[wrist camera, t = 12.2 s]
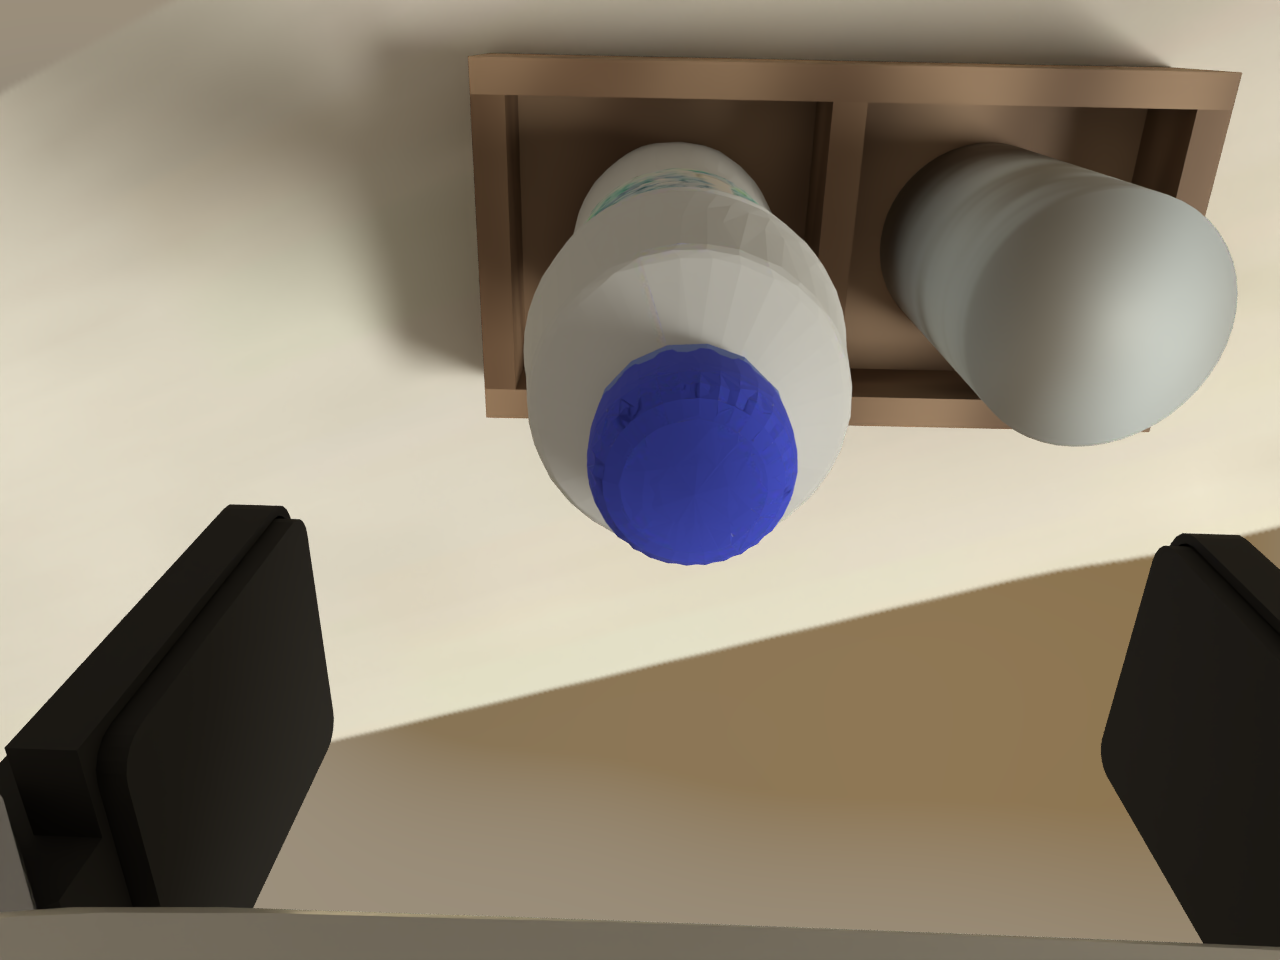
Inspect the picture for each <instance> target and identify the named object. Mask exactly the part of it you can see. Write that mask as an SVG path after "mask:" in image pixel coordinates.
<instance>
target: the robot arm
mask: <svg viewBox="0 0 1280 960" xmlns="http://www.w3.org/2000/svg"><path fill="white" fill-rule="evenodd" d="M333 722H334V717H333V707H332V700H331V694H330V687H329V680H328V673H327V666H326V659H325V653H324V646H323V639H322V632H321V625H320V618H319V611H318V605H317V598H316V591H315V584H314V577H313V570H312V564H311V557H310V550H309V543H308V536H307V531H306V527H305V525H304V523H303V521H301V520H300V519H291V518H290V515H289V513H288V511H287V509H285V508H284V507H283V506H265V505H228V506H227V507H226V508H224V509H223V510H222V511H221V513H220V514H219V515H218V516H217V517H216V518H215V519H214V520H213V521H212V522H211V523H210V525H209V526H208V527H207V528H206V529H205V530H204V531H203V532H202V533H201V534H200V535H199V537H198V538H197V539H196V540H195V541H194V542H193V543H192V544H191V545H190V546H189V547H188V549H187V550H186V551H185V552H184V553H183V554H182V555H181V556H180V557H179V558H178V559H177V561H176V562H175V563H174V564H173V565H172V566H171V567H170V568H169V569H168V570H167V571H166V573H165V574H164V575H163V576H162V577H161V578H160V579H159V580H158V581H157V582H156V583H155V584H154V586H153V587H152V588H151V589H150V590H149V591H148V592H147V593H146V594H145V595H144V596H143V598H142V599H141V600H140V601H139V602H138V603H137V604H136V605H135V606H134V607H133V608H132V610H131V611H130V612H129V613H128V614H127V615H126V616H125V617H124V618H123V619H122V620H121V622H120V623H119V624H118V625H117V626H116V627H115V628H114V629H113V630H112V631H111V632H110V634H109V635H108V636H107V637H106V638H105V639H104V640H103V641H102V642H101V643H100V644H99V646H98V647H97V648H96V649H95V650H94V651H93V652H92V653H91V654H90V655H89V656H88V657H87V659H86V660H85V661H84V662H83V663H82V664H81V665H80V666H79V667H78V668H77V669H76V671H75V672H74V673H73V674H72V675H71V676H70V677H69V678H68V679H67V680H66V681H65V683H64V684H63V685H62V686H61V687H60V688H59V689H58V690H57V691H56V692H55V693H54V695H53V696H52V697H51V698H50V699H49V700H48V701H47V702H46V703H45V704H44V705H43V707H42V708H41V709H40V710H39V711H38V712H37V713H36V714H35V715H34V716H33V717H32V719H31V720H30V721H29V722H28V723H27V724H26V725H25V726H24V727H23V728H22V729H21V731H20V732H19V733H18V734H17V735H16V736H15V737H14V738H13V739H12V740H11V741H10V742H9V744H8V745H7V746H6V747H5V751H6V754H7V756H6V757H5V758H4V759H3V760H2V761H1V762H0V960H1280V569H1278V568H1277V567H1276V566H1275V565H1274V564H1273V563H1272V562H1270V560H1269V559H1267V558H1266V557H1265V556H1264V555H1263V554H1262V553H1261V552H1260V551H1258V550H1257V549H1256V548H1255V547H1254V546H1253V545H1252V544H1251V543H1250V542H1249V541H1247V540H1246V539H1245V538H1243V537H1241V536H1240V535H1219V534H1186V533H1182V534H1181V535H1179V536H1177V537H1176V538H1175V539H1174V540H1173V542H1172V543H1171V545H1170V546H1163V547H1161V548H1159V550H1158V551H1157V552H1156V554H1155V556H1154V558H1153V561H1152V565H1151V568H1150V572H1149V575H1148V579H1147V583H1146V586H1145V589H1144V593H1143V597H1142V600H1141V604H1140V607H1139V611H1138V614H1137V618H1136V621H1135V625H1134V628H1133V632H1132V635H1131V639H1130V642H1129V646H1128V650H1127V653H1126V657H1125V661H1124V664H1123V668H1122V672H1121V674H1120V678H1119V681H1118V685H1117V688H1116V692H1115V695H1114V699H1113V703H1112V706H1111V710H1110V714H1109V717H1108V720H1107V724H1106V727H1105V731H1104V735H1103V738H1102V743H1101V757H1102V763H1103V767H1104V770H1105V773H1106V775H1107V777H1108V779H1109V781H1110V782H1111V784H1112V785H1113V787H1114V789H1115V791H1116V793H1117V794H1118V796H1119V798H1120V800H1121V801H1122V803H1123V805H1124V807H1125V808H1126V810H1127V812H1128V813H1129V815H1130V817H1131V819H1132V820H1133V822H1134V824H1135V826H1136V827H1137V829H1138V831H1139V832H1140V834H1141V836H1142V838H1143V839H1144V841H1145V843H1146V845H1147V846H1148V848H1149V850H1150V852H1151V853H1152V855H1153V857H1154V859H1155V860H1156V862H1157V864H1158V866H1159V867H1160V869H1161V871H1162V873H1163V874H1164V876H1165V878H1166V879H1167V881H1168V883H1169V885H1170V886H1171V888H1172V890H1173V891H1174V893H1175V895H1176V897H1177V899H1178V900H1179V902H1180V904H1181V905H1182V907H1183V909H1184V911H1185V912H1186V914H1187V916H1188V918H1189V919H1190V921H1191V923H1192V924H1193V926H1194V928H1195V930H1196V932H1197V933H1198V935H1199V937H1200V938H1201V940H1202V942H1203V944H1199V943H1177V942H1155V941H1153V942H1152V941H1132V940H1109V939H1083V938H1082V939H1081V938H1057V937H1032V936H1006V935H980V934H954V933H930V932H904V931H878V930H852V929H826V928H800V927H775V926H747V925H720V924H719V925H718V924H694V923H667V922H666V923H665V922H640V921H614V920H587V919H560V918H558V919H557V918H532V917H504V916H503V917H502V916H474V915H443V914H411V913H382V912H351V911H321V910H291V909H259V908H253V907H254V905H255V903H256V900H257V898H258V896H259V894H260V892H261V890H262V888H263V885H264V884H265V881H266V879H267V877H268V875H269V873H270V871H271V869H272V866H273V864H274V862H275V860H276V858H277V856H278V854H279V851H280V850H281V847H282V845H283V843H284V841H285V839H286V837H287V835H288V833H289V831H290V828H291V826H292V824H293V822H294V820H295V818H296V816H297V813H298V811H299V809H300V807H301V805H302V803H303V801H304V799H305V796H306V794H307V792H308V790H309V788H310V786H311V784H312V782H313V780H314V777H315V775H316V773H317V771H318V769H319V767H320V765H321V763H322V761H323V759H324V756H325V754H326V752H327V750H328V748H329V745H330V742H331V738H332V733H333Z"/></svg>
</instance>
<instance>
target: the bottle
mask: <svg viewBox="0 0 1280 960" xmlns="http://www.w3.org/2000/svg"><path fill="white" fill-rule="evenodd" d="M846 346H847V344H846V328H845V322H844V316H843V311H842V307H841V304H840V301H839V298H838V294H837V291H836V289H835V287H834V285H833V283H832V281H831V279H830V277H829V275H828V273H827V271H826V270H825V268H824V266H823V265H822V263H821V262H820V260H819V259H818V257H817V256H816V255H815V253H814V252H813V251H812V250H811V248H810V247H809V246H808V245H807V243H806V242H805V241H804V240H802V239H801V238H800V237H799V236H798V235H797V234H796V233H795V232H794V231H793V230H792V229H790V228H789V227H788V226H787V225H786V224H785V223H783V222H782V221H781V220H780V219H778V218H777V217H776V216H775V215H773V214H772V213H771V210H770V208H769V206H768V204H767V202H766V200H765V198H764V196H763V194H762V192H761V190H760V189H759V187H758V186H757V184H756V183H755V181H754V180H753V179H752V178H751V177H750V176H749V175H748V174H747V173H746V171H745V170H744V169H743V168H742V167H741V166H740V165H738V164H737V163H736V162H734V161H733V160H731V159H730V158H729V157H727V156H726V155H724V154H723V153H722V152H720V151H718V150H715V149H713V148H710V147H707V146H704V145H698V144H692V143H686V142H667V143H654V144H649V145H645V146H641V147H639V148H637V149H635V150H633V151H631V152H629V153H627V154H626V155H625V156H623V157H622V158H620V159H619V160H618V161H616V162H615V163H614V164H613V165H612V166H610V167H609V168H608V169H607V170H606V171H605V172H604V173H603V174H602V175H601V176H600V177H599V178H598V179H597V180H596V181H595V183H594V184H593V186H592V187H591V189H590V191H589V192H588V194H587V196H586V197H585V199H584V201H583V204H582V206H581V209H580V211H579V214H578V217H577V221H576V226H575V230H574V234H573V235H572V236H571V238H570V239H569V240H568V241H567V242H566V244H565V245H564V246H563V248H562V249H561V250H560V252H559V253H558V254H557V256H556V257H555V259H554V260H553V261H552V263H551V264H550V266H549V267H548V269H547V270H546V272H545V273H544V275H543V277H542V278H541V281H540V283H539V285H538V287H537V289H536V291H535V294H534V296H533V299H532V302H531V305H530V308H529V311H528V316H527V322H526V327H525V333H524V367H525V373H526V387H527V407H528V418H529V425H530V429H531V433H532V437H533V441H534V445H535V447H536V449H537V452H538V454H539V456H540V458H541V461H542V463H543V464H544V466H545V468H546V470H547V472H548V474H549V476H550V478H551V480H552V481H553V482H554V483H555V485H556V486H557V487H558V488H559V490H560V491H561V492H562V493H563V494H564V496H565V497H566V498H567V499H568V500H569V501H570V502H571V503H572V504H573V505H574V506H575V507H576V508H578V509H579V510H580V511H581V512H582V513H584V514H585V515H586V516H587V517H589V518H590V519H591V520H592V521H594V522H596V523H598V524H599V525H601V526H603V527H605V528H606V529H608V530H610V531H612V532H613V533H615V534H616V535H617V536H618V537H619V538H621V539H622V540H624V541H626V542H627V543H629V544H630V545H631V546H632V548H633V549H635V550H638V551H640V552H642V553H644V554H645V555H647V556H648V557H650V558H653V559H657V560H660V561H663V562H666V563H677V564H682V565H686V566H687V565H694V564H700V565H707V564H710V563H713V562H719V561H725V560H727V559H728V558H730V557H732V556H736V555H739V554H742V553H743V552H744V551H746V550H747V549H748V548H750V547H752V546H754V545H756V544H758V543H759V541H760V540H761V539H762V538H763V537H764V536H765V535H767V534H768V533H770V532H771V531H772V530H773V529H774V527H775V526H776V525H777V524H778V523H779V522H781V521H783V520H784V519H786V518H787V517H789V516H790V515H791V514H792V513H793V512H794V511H795V510H796V509H798V508H799V507H800V506H801V505H802V504H803V503H804V502H806V501H807V500H808V499H809V498H810V496H811V495H812V494H813V493H814V492H815V491H816V490H817V488H818V487H819V486H820V484H821V483H822V482H823V480H824V479H825V477H826V476H827V475H828V473H829V472H830V470H831V468H832V466H833V464H834V462H835V460H836V458H837V456H838V454H839V452H840V450H841V448H842V444H843V441H844V437H845V434H846V431H847V427H848V424H849V420H850V417H851V399H852V381H851V374H850V367H849V360H848V354H847V347H846Z"/></svg>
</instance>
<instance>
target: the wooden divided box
mask: <svg viewBox="0 0 1280 960" xmlns="http://www.w3.org/2000/svg"><path fill="white" fill-rule="evenodd" d="M468 67H469V87H470V106H471V126H472V145H473V165H474V185H475V204H476V224H477V243H478V263H479V282H480V302H481V321H482V341H483V360H484V380H485V399H486V417H490V418H528V407H527V387H526V373H525V367H524V333H525V327H526V322H527V316H528V311H529V308H530V305H531V302H532V299H533V296H534V294H535V291H536V289H537V287H538V285H539V283H540V281H541V278H542V277H543V275H544V273H545V272H546V270H547V269H548V267H549V266H550V264H551V263H552V261H553V260H554V259H555V257H556V256H557V254H558V253H559V252H560V250H561V249H562V248H563V246H564V245H565V244H566V242H567V241H568V240H569V239H570V238H571V236H572V235H573V234H574V230H575V226H576V221H577V217H578V214H579V211H580V209H581V206H582V204H583V201H584V199H585V197H586V196H587V194H588V192H589V191H590V189H591V187H592V186H593V184H594V183H595V181H596V180H597V179H598V178H599V177H600V176H601V175H602V174H603V173H604V172H605V171H606V170H607V169H608V168H609V167H610V166H612V165H613V164H614V163H615V162H616V161H618V160H619V159H620V158H622V157H623V156H625V155H626V154H627V153H629V152H631V151H633V150H635V149H637V148H639V147H641V146H645V145H649V144H654V143H667V142H686V143H692V144H698V145H704V146H707V147H710V148H713V149H715V150H718V151H720V152H722V153H723V154H724V155H726V156H727V157H729V158H730V159H731V160H733V161H734V162H736V163H737V164H738V165H740V166H741V167H742V168H743V169H744V170H745V171H746V173H747V174H748V175H749V176H750V177H751V178H752V179H753V180H754V181H755V183H756V184H757V186H758V187H759V189H760V190H761V192H762V194H763V196H764V198H765V200H766V202H767V204H768V206H769V208H770V210H771V213H772V214H773V215H775V216H776V217H777V218H778V219H780V220H781V221H782V222H783V223H785V224H786V225H787V226H788V227H789V228H790V229H792V230H793V231H794V232H795V233H796V234H797V235H798V236H799V237H800V238H801V239H802V240H804V241H805V242H806V243H807V245H808V246H809V247H810V248H811V250H812V251H813V252H814V253H815V255H816V256H817V257H818V259H819V260H820V262H821V263H822V265H823V266H824V268H825V270H826V271H827V273H828V275H829V277H830V279H831V281H832V283H833V285H834V287H835V289H836V291H837V294H838V298H839V301H840V304H841V307H842V311H843V316H844V322H845V328H846V344H847V346H846V347H847V354H848V360H849V367H850V374H851V381H852V399H851V417H850V420H849V424H848V425H854V426H899V427H945V428H990V429H1013V430H1015V431H1017V432H1019V433H1021V434H1023V435H1025V436H1027V437H1029V438H1032V439H1035V440H1038V441H1040V442H1044V443H1049V444H1054V445H1061V446H1073V447H1074V446H1092V445H1099V444H1105V443H1109V442H1113V441H1117V440H1120V439H1124V438H1126V437H1129V436H1131V435H1134V434H1137V433H1139V432H1149V430H1150V427H1151V426H1153V425H1155V424H1156V423H1158V422H1159V421H1161V420H1163V419H1164V418H1166V417H1167V416H1169V415H1170V414H1171V413H1173V412H1174V411H1175V410H1176V409H1178V408H1179V407H1180V406H1181V405H1183V404H1184V403H1185V402H1186V401H1187V400H1188V399H1189V398H1190V397H1191V396H1192V395H1193V394H1194V393H1195V392H1196V391H1197V390H1198V389H1199V387H1200V386H1201V385H1202V384H1203V382H1204V381H1205V380H1206V379H1207V378H1208V376H1209V375H1210V373H1211V372H1212V370H1213V369H1214V367H1215V366H1216V364H1217V362H1218V361H1219V359H1220V357H1221V355H1222V353H1223V351H1224V349H1225V347H1226V345H1227V342H1228V339H1229V336H1230V333H1231V331H1232V328H1233V323H1234V319H1235V314H1236V307H1237V278H1236V273H1235V268H1234V263H1233V260H1232V257H1231V255H1230V252H1229V250H1228V247H1227V245H1226V243H1225V242H1224V240H1223V238H1222V236H1221V235H1220V233H1219V232H1218V230H1217V229H1216V228H1215V227H1214V226H1213V225H1212V223H1211V222H1210V221H1209V220H1208V219H1207V218H1206V217H1205V214H1206V210H1207V207H1208V203H1209V199H1210V195H1211V191H1212V187H1213V183H1214V180H1215V176H1216V172H1217V168H1218V164H1219V160H1220V156H1221V152H1222V149H1223V145H1224V141H1225V137H1226V133H1227V129H1228V125H1229V122H1230V118H1231V114H1232V110H1233V106H1234V102H1235V98H1236V95H1237V91H1238V87H1239V83H1240V79H1241V75H1242V73H1240V72H1227V71H1213V70H1199V69H1185V68H1165V67H1117V66H1070V65H1022V64H974V63H926V62H879V61H831V60H783V59H736V58H688V57H640V56H593V55H545V54H497V53H488V54H481V55H474V56H468Z"/></svg>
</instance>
